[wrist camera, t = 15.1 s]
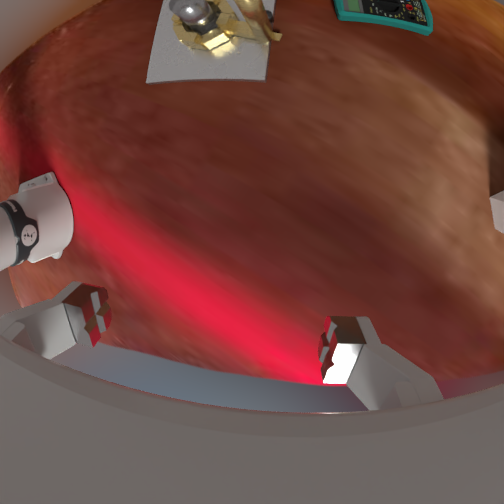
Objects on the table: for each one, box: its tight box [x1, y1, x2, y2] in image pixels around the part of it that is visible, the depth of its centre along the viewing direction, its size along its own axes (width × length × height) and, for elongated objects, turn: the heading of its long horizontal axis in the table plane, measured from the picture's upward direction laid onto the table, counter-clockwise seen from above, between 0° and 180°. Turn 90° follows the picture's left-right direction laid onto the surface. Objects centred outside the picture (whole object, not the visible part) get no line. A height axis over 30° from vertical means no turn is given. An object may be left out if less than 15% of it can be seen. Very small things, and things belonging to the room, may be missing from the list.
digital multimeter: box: [334, 0, 433, 36], centre depth 23 cm, size 7×15×3 cm, turn 91°
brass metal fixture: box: [171, 0, 274, 50], centre depth 22 cm, size 14×8×14 cm, turn 70°
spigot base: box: [146, 0, 282, 85], centre depth 25 cm, size 20×18×10 cm
